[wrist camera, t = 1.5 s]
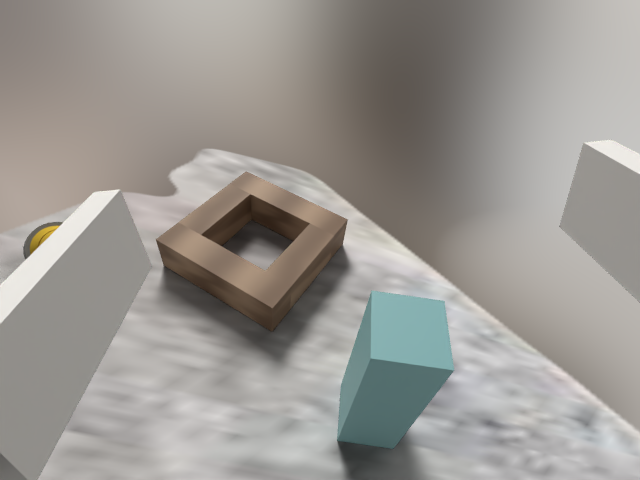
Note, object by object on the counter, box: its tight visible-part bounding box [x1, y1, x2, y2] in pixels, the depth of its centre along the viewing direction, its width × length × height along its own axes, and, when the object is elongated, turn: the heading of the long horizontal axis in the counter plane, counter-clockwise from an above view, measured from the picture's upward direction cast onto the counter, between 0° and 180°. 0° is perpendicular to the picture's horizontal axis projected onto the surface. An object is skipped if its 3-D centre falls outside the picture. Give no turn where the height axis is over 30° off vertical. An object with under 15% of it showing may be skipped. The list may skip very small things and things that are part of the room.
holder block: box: [156, 172, 347, 332], centre depth 42 cm, size 14×14×4 cm
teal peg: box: [337, 291, 454, 449], centre depth 27 cm, size 4×4×14 cm
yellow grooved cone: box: [24, 222, 63, 260], centre depth 37 cm, size 5×5×10 cm
